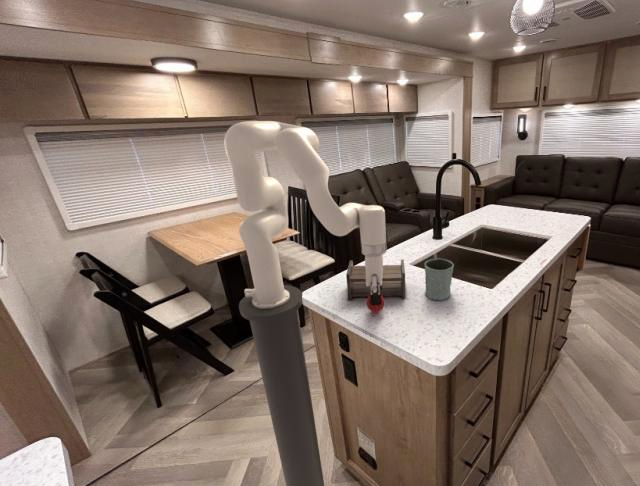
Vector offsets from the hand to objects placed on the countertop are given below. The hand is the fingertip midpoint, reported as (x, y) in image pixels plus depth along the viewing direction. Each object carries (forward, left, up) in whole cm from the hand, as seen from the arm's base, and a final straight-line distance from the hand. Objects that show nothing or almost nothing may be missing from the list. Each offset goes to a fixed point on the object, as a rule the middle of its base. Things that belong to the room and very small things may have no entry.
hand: (376, 296), depth 102 cm
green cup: (+22, +11, -6) cm, 25 cm away
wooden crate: (0, +14, -6) cm, 15 cm away
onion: (0, 0, -6) cm, 6 cm away
